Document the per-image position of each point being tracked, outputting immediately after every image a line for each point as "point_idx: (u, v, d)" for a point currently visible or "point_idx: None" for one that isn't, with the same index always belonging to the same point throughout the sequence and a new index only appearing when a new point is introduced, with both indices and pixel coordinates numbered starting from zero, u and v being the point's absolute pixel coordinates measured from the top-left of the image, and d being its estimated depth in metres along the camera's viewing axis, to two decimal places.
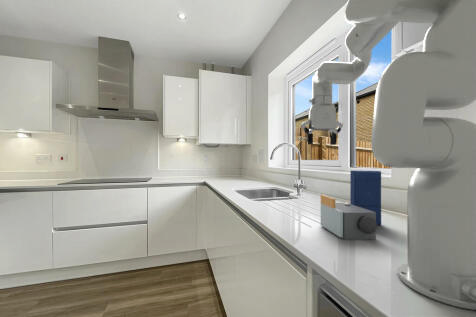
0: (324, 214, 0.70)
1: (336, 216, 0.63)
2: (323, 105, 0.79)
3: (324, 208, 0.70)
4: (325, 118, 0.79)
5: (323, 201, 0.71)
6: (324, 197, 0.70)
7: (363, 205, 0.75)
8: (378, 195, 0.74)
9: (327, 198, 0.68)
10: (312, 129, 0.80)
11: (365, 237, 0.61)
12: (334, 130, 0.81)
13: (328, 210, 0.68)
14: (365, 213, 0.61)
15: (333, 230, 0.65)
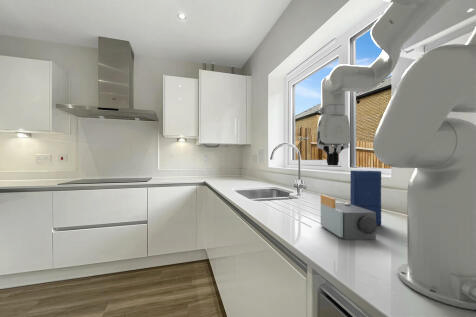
0: (324, 214, 0.70)
1: (336, 216, 0.63)
2: (335, 116, 0.67)
3: (324, 208, 0.70)
4: (337, 131, 0.67)
5: (323, 201, 0.71)
6: (324, 197, 0.70)
7: (363, 205, 0.75)
8: (378, 195, 0.74)
9: (327, 198, 0.68)
10: (330, 147, 0.68)
11: (365, 237, 0.61)
12: (338, 147, 0.69)
13: (328, 210, 0.68)
14: (365, 213, 0.61)
15: (333, 230, 0.65)
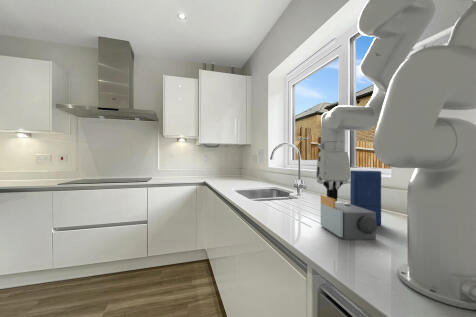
0: (324, 214, 0.70)
1: (336, 216, 0.63)
2: (335, 152, 0.67)
3: (324, 208, 0.70)
4: (336, 168, 0.67)
5: (323, 201, 0.71)
6: (324, 197, 0.70)
7: (363, 205, 0.75)
8: (378, 195, 0.74)
9: (327, 198, 0.68)
10: (330, 183, 0.68)
11: (365, 237, 0.61)
12: (338, 183, 0.69)
13: (328, 210, 0.68)
14: (365, 213, 0.61)
15: (333, 230, 0.65)
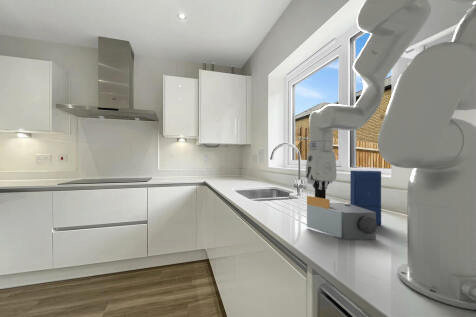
0: (314, 216, 0.68)
1: (333, 216, 0.62)
2: (325, 152, 0.66)
3: (313, 209, 0.68)
4: (327, 167, 0.66)
5: (311, 202, 0.69)
6: (313, 198, 0.68)
7: (363, 205, 0.75)
8: (378, 195, 0.74)
9: (318, 199, 0.67)
10: (320, 183, 0.67)
11: (365, 237, 0.61)
12: (326, 183, 0.68)
13: (319, 211, 0.66)
14: (365, 213, 0.61)
15: (328, 231, 0.64)
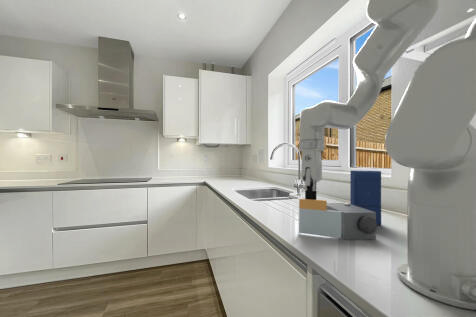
0: (308, 220, 0.63)
1: (333, 218, 0.61)
2: (319, 152, 0.64)
3: (307, 213, 0.63)
4: (320, 168, 0.64)
5: (304, 205, 0.64)
6: (308, 201, 0.63)
7: (363, 205, 0.75)
8: (378, 195, 0.74)
9: (314, 201, 0.63)
10: (314, 185, 0.64)
11: (365, 237, 0.61)
12: None
13: (316, 214, 0.62)
14: (365, 213, 0.61)
15: (326, 233, 0.61)
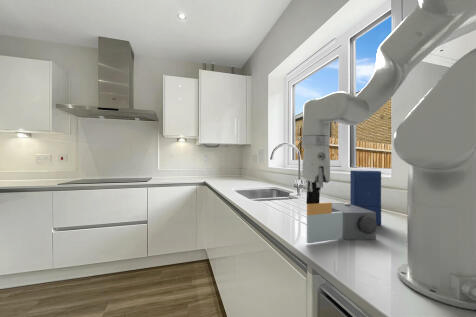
0: (317, 226, 0.57)
1: (337, 219, 0.59)
2: None
3: (316, 219, 0.57)
4: None
5: (313, 211, 0.57)
6: (316, 205, 0.57)
7: (363, 205, 0.75)
8: (378, 195, 0.74)
9: (322, 205, 0.58)
10: None
11: (365, 237, 0.61)
12: None
13: (323, 218, 0.58)
14: (365, 213, 0.61)
15: (331, 237, 0.58)
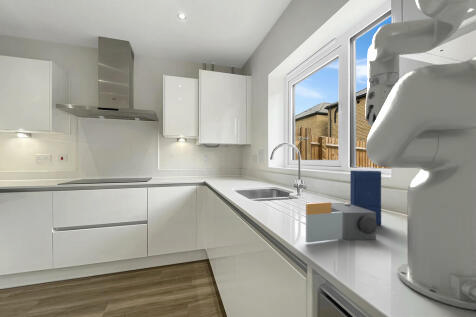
0: (316, 226, 0.57)
1: (336, 219, 0.59)
2: (391, 87, 0.56)
3: (315, 218, 0.57)
4: None
5: (312, 210, 0.57)
6: (315, 205, 0.57)
7: (363, 205, 0.75)
8: (378, 195, 0.74)
9: (321, 204, 0.58)
10: None
11: (365, 237, 0.61)
12: None
13: (322, 218, 0.58)
14: (365, 213, 0.61)
15: (331, 237, 0.59)
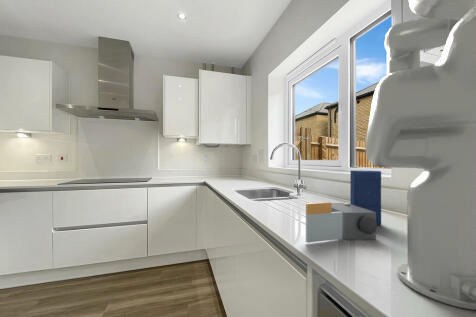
0: (316, 226, 0.57)
1: (336, 219, 0.59)
2: None
3: (315, 218, 0.57)
4: None
5: (312, 210, 0.57)
6: (315, 205, 0.57)
7: (363, 205, 0.75)
8: (378, 195, 0.74)
9: (321, 204, 0.58)
10: None
11: (365, 237, 0.61)
12: None
13: (322, 218, 0.58)
14: (365, 213, 0.61)
15: (331, 237, 0.59)
